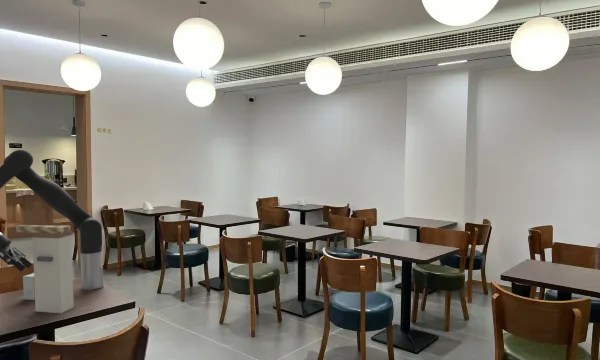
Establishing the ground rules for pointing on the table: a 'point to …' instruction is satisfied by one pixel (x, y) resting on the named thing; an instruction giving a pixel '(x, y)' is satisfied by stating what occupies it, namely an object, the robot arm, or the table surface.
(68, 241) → the white tall carton
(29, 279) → the small box
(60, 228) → the tan wooden plank
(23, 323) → the table surface
